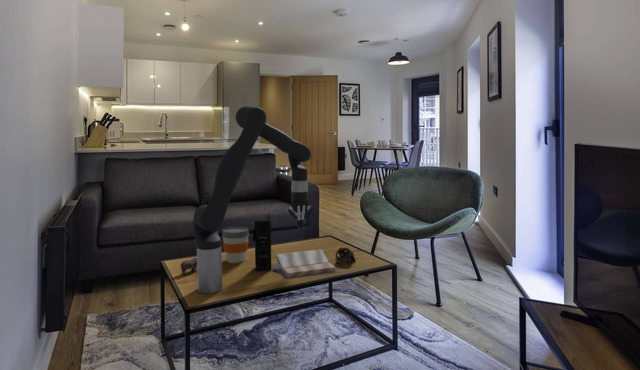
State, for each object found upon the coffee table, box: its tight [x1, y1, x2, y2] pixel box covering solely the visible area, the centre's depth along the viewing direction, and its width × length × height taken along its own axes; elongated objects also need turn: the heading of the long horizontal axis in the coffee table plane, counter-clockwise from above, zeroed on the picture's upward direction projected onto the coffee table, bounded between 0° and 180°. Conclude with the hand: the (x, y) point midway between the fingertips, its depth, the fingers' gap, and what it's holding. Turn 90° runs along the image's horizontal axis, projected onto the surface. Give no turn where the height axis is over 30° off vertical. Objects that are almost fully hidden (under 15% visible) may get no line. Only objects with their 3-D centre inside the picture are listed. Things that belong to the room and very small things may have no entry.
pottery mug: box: [334, 247, 356, 265], centre depth 203 cm, size 12×10×8 cm
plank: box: [276, 248, 329, 271], centre depth 196 cm, size 22×9×2 cm
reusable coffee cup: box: [221, 226, 250, 264], centre depth 205 cm, size 13×13×15 cm
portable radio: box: [252, 213, 272, 272], centre depth 191 cm, size 8×6×25 cm
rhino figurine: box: [180, 257, 197, 277], centre depth 190 cm, size 4×14×6 cm, turn 148°
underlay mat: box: [271, 262, 342, 281], centre depth 194 cm, size 26×22×1 cm
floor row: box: [283, 262, 336, 277], centre depth 189 cm, size 22×7×2 cm, turn 112°
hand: (300, 227), depth 197 cm, fingers closed
